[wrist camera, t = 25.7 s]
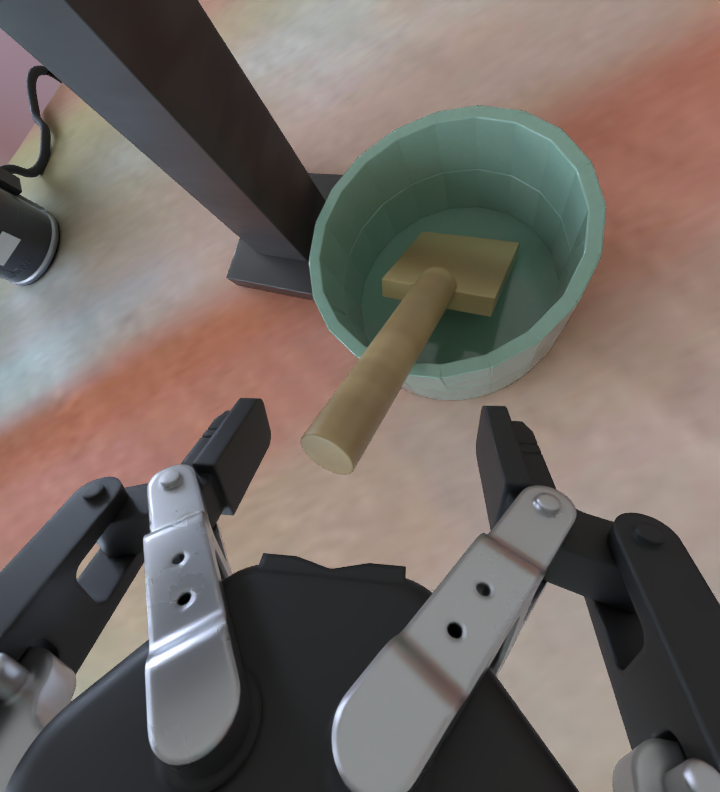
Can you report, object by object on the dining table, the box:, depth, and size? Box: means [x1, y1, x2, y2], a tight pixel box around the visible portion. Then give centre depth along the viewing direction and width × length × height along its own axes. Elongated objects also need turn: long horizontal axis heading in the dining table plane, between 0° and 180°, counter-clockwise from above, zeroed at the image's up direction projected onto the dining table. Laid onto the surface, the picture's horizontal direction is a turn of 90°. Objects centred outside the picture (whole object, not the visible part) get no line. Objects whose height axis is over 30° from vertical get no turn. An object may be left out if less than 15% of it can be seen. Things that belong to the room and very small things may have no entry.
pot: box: [309, 105, 606, 400], centre depth 22 cm, size 14×14×8 cm
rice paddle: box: [301, 231, 520, 475], centre depth 18 cm, size 19×6×2 cm
